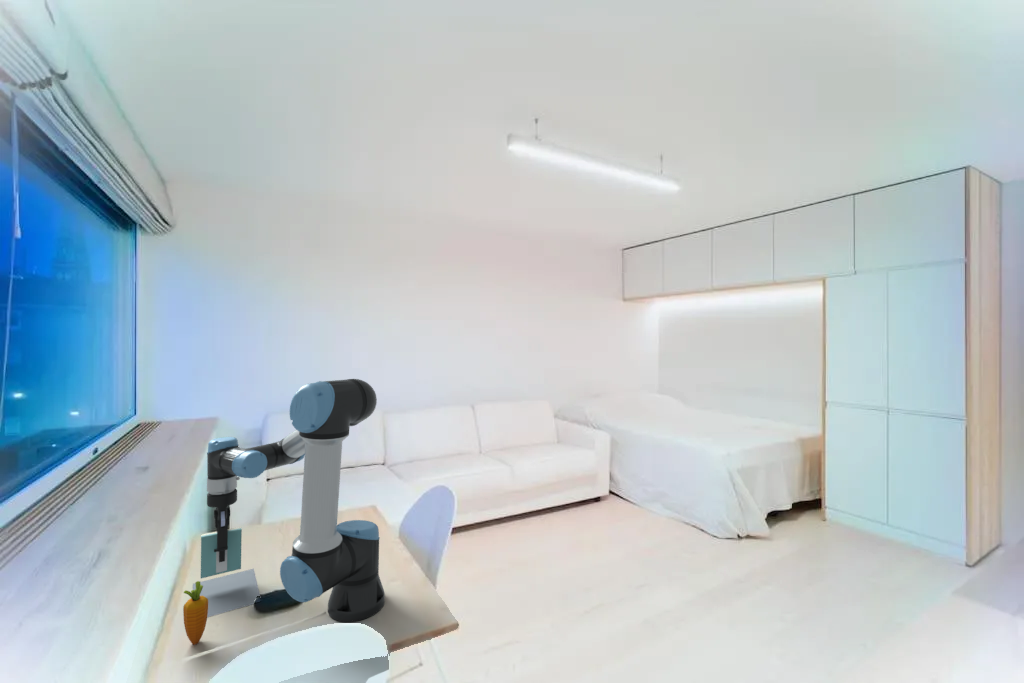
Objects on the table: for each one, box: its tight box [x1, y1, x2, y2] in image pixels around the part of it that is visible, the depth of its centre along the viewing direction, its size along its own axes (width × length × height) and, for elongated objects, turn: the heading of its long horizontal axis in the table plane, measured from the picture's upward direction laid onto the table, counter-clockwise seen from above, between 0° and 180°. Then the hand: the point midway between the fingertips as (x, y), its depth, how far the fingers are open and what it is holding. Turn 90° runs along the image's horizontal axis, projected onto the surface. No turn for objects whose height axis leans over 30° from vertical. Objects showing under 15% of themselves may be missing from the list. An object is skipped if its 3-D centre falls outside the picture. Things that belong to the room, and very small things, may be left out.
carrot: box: [182, 580, 208, 646], centre depth 109 cm, size 5×5×15 cm
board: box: [200, 526, 243, 579], centre depth 132 cm, size 2×10×12 cm, turn 125°
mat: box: [192, 568, 261, 618], centre depth 130 cm, size 22×16×1 cm
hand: (221, 569), depth 132 cm, fingers closed on board, 2 cm apart
